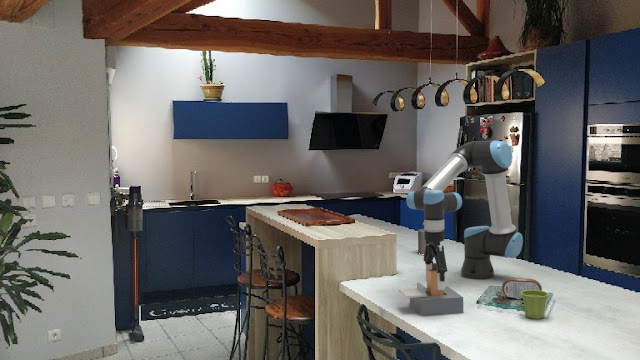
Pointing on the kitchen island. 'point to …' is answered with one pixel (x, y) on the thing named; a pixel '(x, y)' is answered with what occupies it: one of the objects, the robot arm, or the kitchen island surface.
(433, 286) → the orange square bottle
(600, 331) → the kitchen island surface
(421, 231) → the pillar candle
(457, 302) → the socket
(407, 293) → the shutter
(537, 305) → the plant pot
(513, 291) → the tin
